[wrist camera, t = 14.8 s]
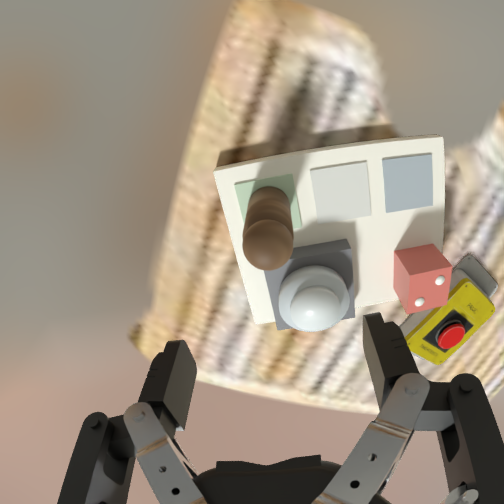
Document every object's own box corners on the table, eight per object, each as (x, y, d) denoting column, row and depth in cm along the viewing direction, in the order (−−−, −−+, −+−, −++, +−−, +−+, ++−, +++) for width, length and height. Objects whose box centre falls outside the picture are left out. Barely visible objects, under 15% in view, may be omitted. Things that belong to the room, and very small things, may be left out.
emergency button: (393, 360, 34) (484, 269, 28) (384, 336, 38) (466, 249, 31) (433, 380, 36) (513, 303, 30) (424, 358, 40) (497, 283, 34)
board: (435, 134, 25) (454, 141, 22) (433, 283, 33) (445, 301, 30) (215, 167, 28) (209, 177, 25) (255, 315, 36) (254, 337, 33)
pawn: (285, 182, 27) (291, 227, 19) (292, 221, 29) (300, 277, 21) (244, 190, 27) (232, 237, 20) (253, 228, 29) (245, 285, 21)
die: (432, 243, 29) (452, 266, 25) (430, 279, 31) (447, 305, 27) (393, 250, 30) (410, 275, 26) (393, 287, 32) (407, 315, 28)
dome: (340, 250, 29) (350, 275, 26) (344, 303, 32) (352, 332, 28) (272, 261, 30) (273, 288, 26) (283, 313, 33) (285, 343, 29)
